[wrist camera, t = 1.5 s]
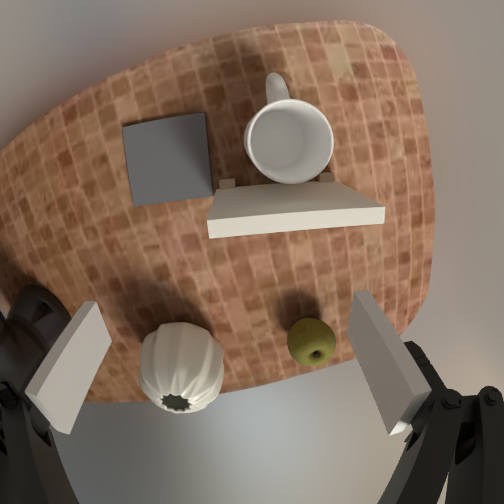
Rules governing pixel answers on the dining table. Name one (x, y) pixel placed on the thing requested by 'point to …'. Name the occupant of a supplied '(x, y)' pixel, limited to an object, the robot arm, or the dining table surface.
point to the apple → (311, 341)
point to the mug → (288, 136)
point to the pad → (168, 159)
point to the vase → (181, 367)
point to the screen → (289, 207)
